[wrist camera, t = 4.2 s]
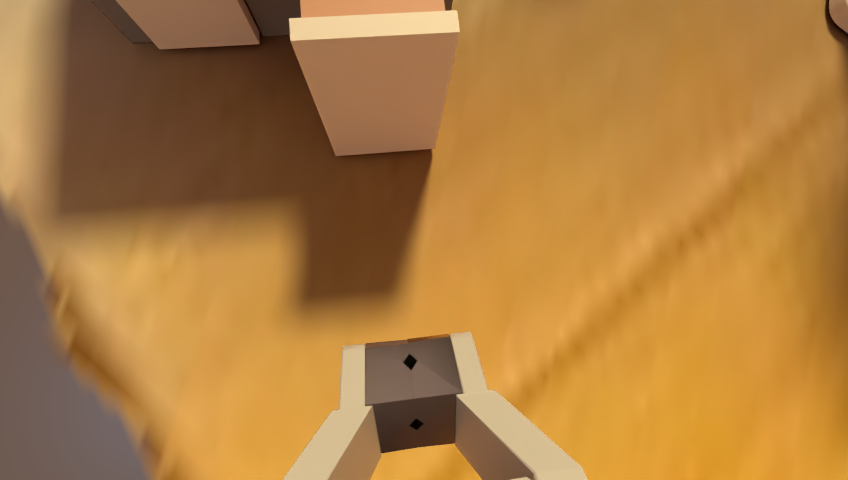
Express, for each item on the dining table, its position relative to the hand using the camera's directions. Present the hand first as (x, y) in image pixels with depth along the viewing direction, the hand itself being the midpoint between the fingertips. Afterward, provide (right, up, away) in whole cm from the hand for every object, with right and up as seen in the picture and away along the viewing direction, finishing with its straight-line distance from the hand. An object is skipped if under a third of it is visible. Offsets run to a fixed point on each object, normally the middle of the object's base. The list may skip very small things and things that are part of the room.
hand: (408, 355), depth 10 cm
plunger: (-2, +14, +14) cm, 19 cm away
